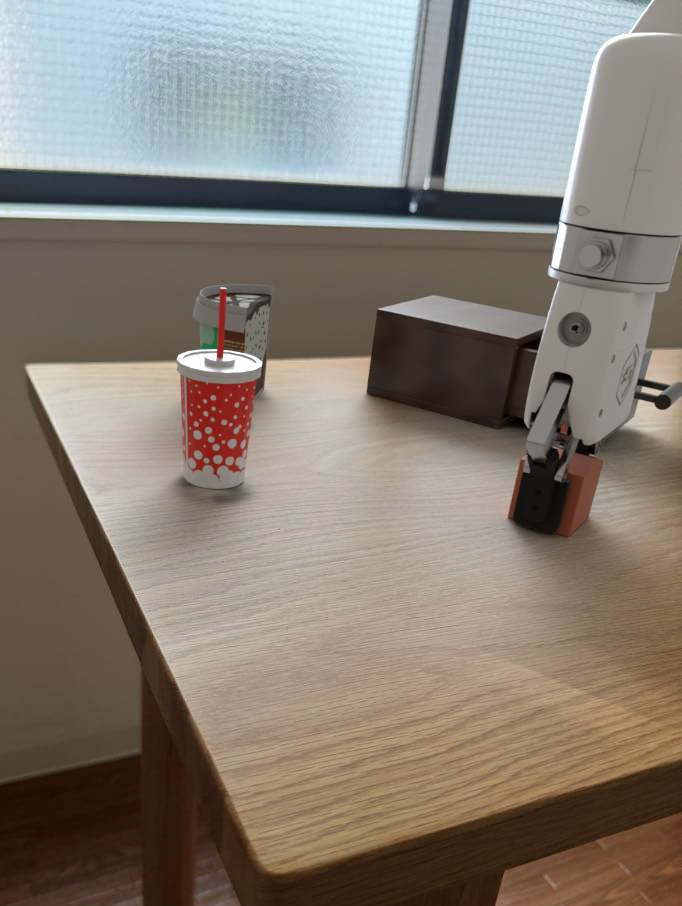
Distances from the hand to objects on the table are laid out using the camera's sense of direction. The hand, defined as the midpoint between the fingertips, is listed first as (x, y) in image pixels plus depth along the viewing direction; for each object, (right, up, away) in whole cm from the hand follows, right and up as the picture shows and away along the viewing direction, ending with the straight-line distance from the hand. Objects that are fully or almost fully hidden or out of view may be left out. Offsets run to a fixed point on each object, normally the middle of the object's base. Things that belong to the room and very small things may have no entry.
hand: (549, 511), depth 63 cm
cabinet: (-1, +13, +26) cm, 29 cm away
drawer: (+8, +10, +20) cm, 24 cm away
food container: (-25, +12, +20) cm, 34 cm away
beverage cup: (-25, +3, +2) cm, 25 cm away
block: (0, 0, 0) cm, 0 cm away
